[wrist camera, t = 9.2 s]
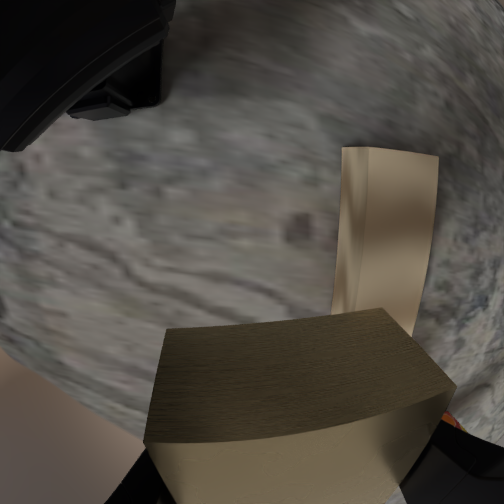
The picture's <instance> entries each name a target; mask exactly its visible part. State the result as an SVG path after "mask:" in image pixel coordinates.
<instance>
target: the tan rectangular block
mask: <svg viewBox="0 0 504 504" xmlns="http://www.w3.org/2000/svg"><path fill="white" fill-rule="evenodd" d="M456 388H457V386H456V385H455V384H454V382H453V381H452V380H451V379H450V378H449V377H448V376H447V375H446V374H445V373H444V371H443V370H442V369H441V368H440V367H439V366H438V365H437V364H436V363H435V362H434V361H433V360H432V358H431V357H430V356H429V355H428V354H427V353H426V352H425V351H424V350H423V349H422V348H421V347H420V346H419V345H418V344H417V343H416V342H415V340H414V339H413V338H412V337H411V336H410V335H409V334H408V333H407V332H406V331H405V330H404V329H403V328H402V327H401V326H400V325H399V324H398V323H397V322H396V321H395V320H394V319H393V318H392V317H391V316H390V315H389V314H388V313H387V312H386V311H385V310H384V309H383V308H382V307H381V308H375V309H368V310H362V311H355V312H348V313H341V314H334V315H326V316H319V317H310V318H302V319H293V320H284V321H274V322H264V323H252V324H240V325H227V326H213V327H196V328H175V329H166V333H165V338H164V342H163V346H162V350H161V355H160V359H159V364H158V368H157V373H156V378H155V382H154V387H153V392H152V397H151V402H150V407H149V412H148V417H147V423H146V428H145V434H144V440H143V443H144V445H145V447H146V449H147V451H148V453H149V455H150V457H151V459H152V461H153V463H154V465H155V466H156V468H157V470H158V472H159V474H160V476H161V477H162V479H163V481H164V483H165V484H166V486H167V488H168V489H169V491H170V493H171V494H172V496H173V498H174V499H175V501H176V502H177V504H385V502H386V501H387V500H388V499H389V497H390V496H391V495H392V494H393V492H394V491H395V490H396V488H397V487H398V486H399V484H400V483H401V482H402V480H403V479H404V477H405V476H406V475H407V473H408V472H409V470H410V469H411V467H412V466H413V464H414V463H415V461H416V460H417V458H418V457H419V455H420V454H421V452H422V451H423V449H424V447H425V446H426V444H427V443H428V441H429V439H430V438H431V436H432V434H433V432H434V431H435V429H436V427H437V425H438V424H439V422H440V420H441V418H442V416H443V414H444V412H445V411H446V409H447V407H448V405H449V403H450V401H451V399H452V397H453V395H454V392H455V390H456Z"/></svg>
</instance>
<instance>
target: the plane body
mask: <svg viewBox="0 0 504 504" xmlns="http://www.w3.org/2000/svg"><path fill="white" fill-rule="evenodd" d="M438 165H439V157H438V156H432V155H426V154H420V153H414V152H407V151H400V150H392V149H384V148H375V147H342V169H341V199H340V218H339V234H338V248H337V260H336V271H335V281H334V291H333V300H332V309H331V315H334V314H341V313H348V312H355V311H362V310H368V309H375V308H381V307H382V308H383V309H384V310H385V311H386V312H387V313H388V314H389V315H390V316H391V317H392V318H393V319H394V320H395V321H396V322H397V323H398V324H399V325H400V326H401V327H402V328H403V329H404V330H405V331H406V332H407V333H408V334H409V335H410V336H412V332H413V329H414V325H415V321H416V317H417V313H418V309H419V305H420V301H421V296H422V292H423V287H424V282H425V277H426V272H427V266H428V260H429V254H430V248H431V241H432V234H433V227H434V218H435V209H436V198H437V184H438Z"/></svg>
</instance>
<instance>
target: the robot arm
mask: <svg viewBox="0 0 504 504" xmlns="http://www.w3.org/2000/svg"><path fill="white" fill-rule="evenodd" d="M175 5H176V0H0V151H1V150H3V151H8V152H19V151H23V150H24V149H25V148H26V147H27V146H28V145H31V144H32V143H33V142H34V141H35V140H36V139H37V138H38V137H39V136H40V135H41V134H42V133H43V132H44V131H45V130H46V129H47V128H48V127H50V126H51V125H52V124H53V123H54V122H55V121H56V120H57V119H58V118H59V117H60V116H61V115H62V114H64V113H65V112H66V113H67V114H68V115H70V116H71V117H72V118H74V119H79V118H84V119H88V120H92V121H96V120H102V119H108V118H115V117H122V116H127V115H128V114H129V113H130V110H134V109H142V108H151V107H156V106H157V105H159V103H160V101H161V74H162V52H163V38H165V37H166V36H167V35H168V32H169V29H170V28H169V25H168V23H167V22H169V21H170V20H172V18H173V13H174V9H175ZM153 96H155V97H156V100H155V101H154V102H153V103H151V102H150V101H149V100H150V98H151V97H153ZM399 487H400V489H401V491H402V494H403V496H404V498H405V500H406V503H407V504H504V447H501V446H498V445H496V444H493V443H490V442H488V441H485V440H483V439H480V438H478V437H475V436H473V435H471V434H469V433H467V432H465V431H463V430H461V429H459V428H457V427H454V426H453V425H452V424H450V423H448V422H446V421H444V420H442V419H441V420H440V422H439V424H438V425H437V427H436V429H435V431H434V432H433V434H432V436H431V438H430V439H429V441H428V443H427V444H426V446H425V447H424V449H423V451H422V452H421V454H420V455H419V457H418V458H417V460H416V461H415V463H414V464H413V466H412V467H411V469H410V470H409V472H408V473H407V475H406V476H405V477H404V479H403V480H402V482H401V483H400V484H399ZM104 504H177V502H176V501H175V499H174V498H173V496H172V494H171V493H170V491H169V489H168V488H167V486H166V484H165V483H164V481H163V479H162V477H161V476H160V474H159V472H158V470H157V468H156V466H155V465H154V463H153V461H152V459H151V457H150V455H149V453H148V451H147V449H146V448H145V450H144V451H143V452H142V454H141V455H140V457H139V458H138V459H137V461H136V462H135V464H134V465H133V466H132V468H131V469H130V471H129V472H128V473H127V475H126V476H125V477H124V479H123V480H122V482H121V483H120V484H119V486H118V487H117V488H116V490H115V491H114V492H113V493H112V495H111V496H110V497H109V498H108V500H107V501H106V502H105V503H104Z"/></svg>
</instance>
